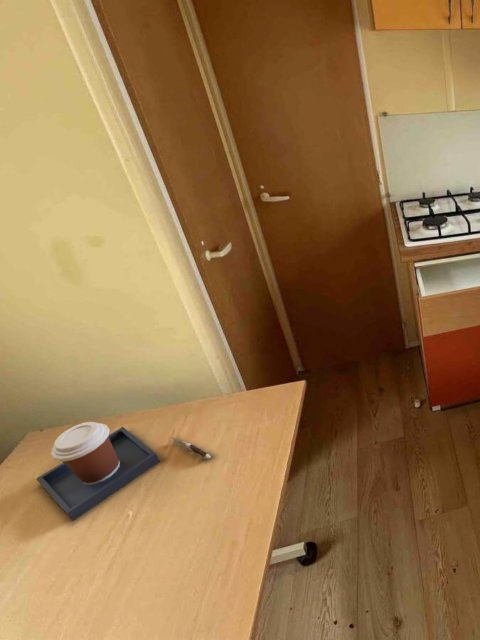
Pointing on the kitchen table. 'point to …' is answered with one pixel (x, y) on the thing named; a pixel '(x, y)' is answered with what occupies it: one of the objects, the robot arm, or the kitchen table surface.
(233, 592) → the kitchen table surface
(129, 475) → the tray
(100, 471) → the coffee cup
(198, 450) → the pocket knife
